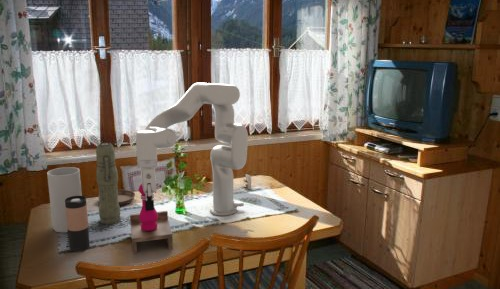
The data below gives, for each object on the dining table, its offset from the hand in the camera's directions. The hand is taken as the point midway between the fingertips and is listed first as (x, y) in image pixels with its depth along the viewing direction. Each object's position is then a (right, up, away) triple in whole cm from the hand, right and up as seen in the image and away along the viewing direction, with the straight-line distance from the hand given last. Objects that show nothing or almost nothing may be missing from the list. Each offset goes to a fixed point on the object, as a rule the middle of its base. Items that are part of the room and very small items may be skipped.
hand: (149, 207), depth 175 cm
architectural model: (+38, 0, +69) cm, 79 cm away
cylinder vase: (-38, -11, +17) cm, 43 cm away
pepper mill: (0, -9, +1) cm, 9 cm away
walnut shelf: (0, -14, +4) cm, 15 cm away
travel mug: (-26, -16, -2) cm, 31 cm away
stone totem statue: (-23, -9, +24) cm, 35 cm away
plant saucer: (-27, -4, +49) cm, 56 cm away
